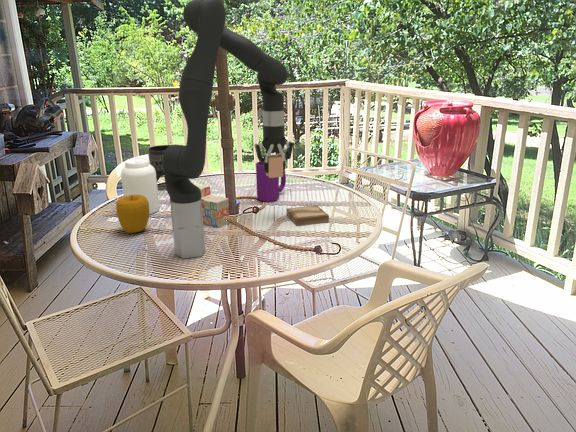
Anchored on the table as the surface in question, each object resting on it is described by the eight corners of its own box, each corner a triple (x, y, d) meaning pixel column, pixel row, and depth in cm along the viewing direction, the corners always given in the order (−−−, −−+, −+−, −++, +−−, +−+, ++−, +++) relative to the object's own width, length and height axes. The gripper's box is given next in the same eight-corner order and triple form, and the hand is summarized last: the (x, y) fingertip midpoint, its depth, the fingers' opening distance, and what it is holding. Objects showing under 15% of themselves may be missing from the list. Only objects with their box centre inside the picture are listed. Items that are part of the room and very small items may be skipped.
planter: (158, 182, 227) (154, 144, 221) (185, 183, 226) (182, 145, 220) (147, 191, 215) (142, 150, 209) (175, 192, 214) (171, 151, 208)
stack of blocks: (230, 223, 177) (228, 190, 173) (217, 228, 173) (215, 194, 169) (189, 211, 190) (187, 180, 186) (177, 216, 185) (174, 184, 181)
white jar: (166, 209, 192) (161, 158, 185) (140, 218, 182) (133, 165, 175) (145, 203, 199) (139, 154, 192) (119, 212, 189) (112, 161, 182)
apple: (142, 238, 165) (138, 201, 160) (112, 236, 167) (107, 199, 162) (157, 226, 175) (153, 191, 171) (128, 224, 177) (124, 190, 172)
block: (283, 176, 175) (282, 157, 173) (269, 178, 174) (269, 158, 171) (279, 173, 180) (279, 154, 177) (265, 174, 178) (265, 155, 176)
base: (328, 222, 177) (328, 215, 176) (296, 225, 174) (296, 218, 173) (317, 211, 188) (317, 204, 187) (286, 215, 184) (286, 208, 183)
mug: (252, 199, 202) (250, 163, 197) (276, 190, 214) (275, 156, 209) (269, 203, 197) (268, 167, 192) (293, 194, 208) (293, 159, 203)
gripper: (255, 126, 165) (257, 176, 171) (296, 124, 169) (297, 172, 175) (250, 123, 172) (252, 171, 178) (290, 120, 176) (290, 167, 182)
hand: (274, 171), depth 176 cm, fingers closed on block, 5 cm apart
